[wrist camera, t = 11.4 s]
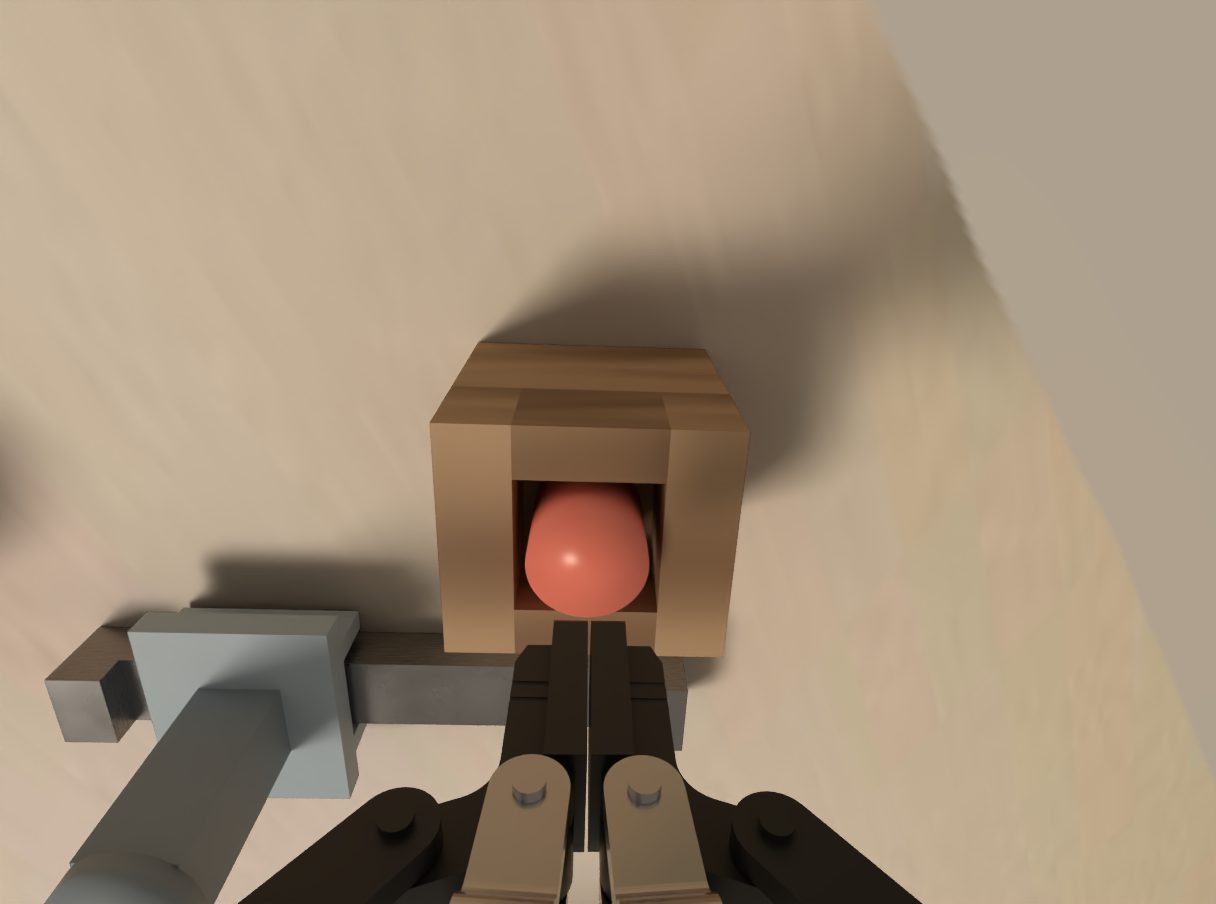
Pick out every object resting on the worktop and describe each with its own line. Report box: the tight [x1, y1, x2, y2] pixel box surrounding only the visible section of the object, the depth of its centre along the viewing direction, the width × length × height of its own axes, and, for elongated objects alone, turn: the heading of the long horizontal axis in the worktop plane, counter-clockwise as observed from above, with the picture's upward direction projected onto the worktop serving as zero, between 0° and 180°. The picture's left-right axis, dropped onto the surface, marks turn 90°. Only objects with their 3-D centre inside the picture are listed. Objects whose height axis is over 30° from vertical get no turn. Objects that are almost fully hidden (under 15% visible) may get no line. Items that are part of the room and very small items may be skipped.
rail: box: [44, 627, 688, 751], centre depth 29 cm, size 3×24×3 cm, turn 88°
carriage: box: [44, 608, 367, 904], centre depth 25 cm, size 8×7×11 cm
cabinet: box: [430, 342, 750, 657], centre depth 23 cm, size 7×8×8 cm
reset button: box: [525, 481, 649, 618], centre depth 20 cm, size 3×3×3 cm
